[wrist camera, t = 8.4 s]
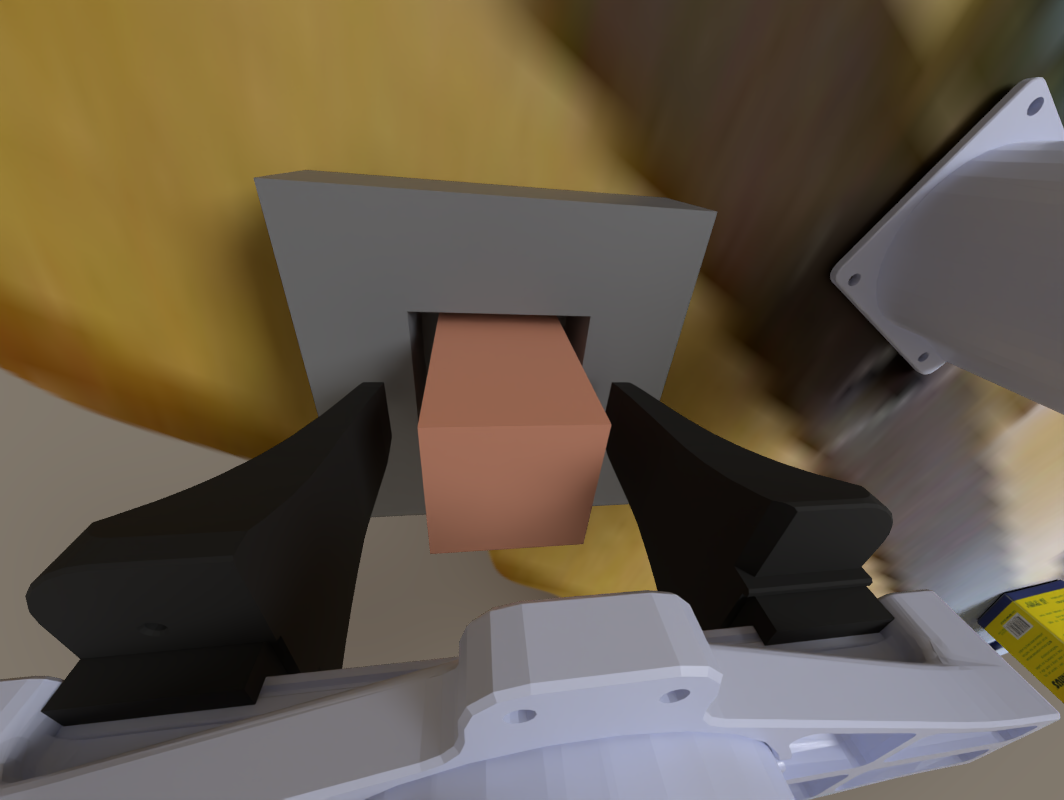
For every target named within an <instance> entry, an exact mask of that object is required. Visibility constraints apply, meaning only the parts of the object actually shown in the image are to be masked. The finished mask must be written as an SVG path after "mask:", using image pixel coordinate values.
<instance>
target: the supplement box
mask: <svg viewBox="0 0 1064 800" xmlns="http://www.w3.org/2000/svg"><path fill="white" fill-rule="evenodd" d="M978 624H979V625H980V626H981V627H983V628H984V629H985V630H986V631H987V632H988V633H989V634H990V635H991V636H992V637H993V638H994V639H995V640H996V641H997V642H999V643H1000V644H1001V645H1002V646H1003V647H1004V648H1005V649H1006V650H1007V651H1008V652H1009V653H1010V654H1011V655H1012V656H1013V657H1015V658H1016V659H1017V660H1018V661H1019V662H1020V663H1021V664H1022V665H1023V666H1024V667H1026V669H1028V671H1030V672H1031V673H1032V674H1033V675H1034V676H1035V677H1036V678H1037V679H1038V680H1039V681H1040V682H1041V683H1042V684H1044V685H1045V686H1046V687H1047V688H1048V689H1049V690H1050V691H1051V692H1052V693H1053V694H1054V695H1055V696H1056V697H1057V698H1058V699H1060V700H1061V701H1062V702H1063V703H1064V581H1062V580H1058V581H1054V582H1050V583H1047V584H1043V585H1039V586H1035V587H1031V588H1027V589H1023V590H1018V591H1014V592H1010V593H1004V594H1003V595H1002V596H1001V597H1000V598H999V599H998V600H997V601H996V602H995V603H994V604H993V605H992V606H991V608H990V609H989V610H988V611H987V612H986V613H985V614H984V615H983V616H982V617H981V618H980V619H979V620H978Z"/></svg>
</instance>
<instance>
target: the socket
mask: <svg viewBox="0 0 1064 800" xmlns="http://www.w3.org/2000/svg"><path fill="white" fill-rule="evenodd" d="M254 181H255V185H256V188H257V192H258V196H259V199H260V203H261V207H262V210H263V214H264V218H265V221H266V225H267V229H268V233H269V236H270V240H271V244H272V247H273V251H274V255H275V258H276V262H277V266H278V269H279V273H280V277H281V280H282V284H283V288H284V291H285V295H286V299H287V302H288V306H289V310H290V313H291V317H292V321H293V324H294V328H295V332H296V335H297V339H298V343H299V346H300V350H301V354H302V358H303V361H304V365H305V369H306V372H307V376H308V380H309V383H310V387H311V391H312V394H313V398H314V402H315V405H316V409H317V413H318V416H321V415H322V414H323V413H325V412H326V411H327V410H328V409H330V408H331V407H332V406H333V405H335V404H336V403H337V402H339V401H340V400H341V399H342V398H343V397H345V396H346V395H347V394H348V393H350V392H351V391H352V390H353V389H355V388H356V387H357V386H358V385H360V384H361V383H363V382H384V385H385V392H386V398H387V405H388V412H389V418H390V425H391V432H392V440H391V446H390V453H389V458H388V464H387V467H386V470H385V473H384V477H383V480H382V483H381V486H380V489H379V492H378V496H377V499H376V502H375V505H374V508H373V511H372V514H371V517H385V516H403V515H424V514H426V506H425V496H424V487H423V477H422V467H421V457H420V447H419V438H418V422H419V417H420V412H421V406H422V401H423V396H424V391H425V385H426V380H427V375H428V369H429V364H430V359H431V353H432V348H433V343H434V338H435V332H436V327H437V322H438V316H439V312H445V313H483V314H520V315H556V316H557V318H558V320H559V322H560V324H561V326H562V328H563V329H564V331H565V333H566V335H567V337H568V339H569V341H570V343H571V345H572V347H573V349H574V351H575V353H576V355H577V357H578V359H579V361H580V363H581V365H582V367H583V369H584V371H585V373H586V375H587V377H588V379H589V381H590V383H591V385H592V387H593V389H594V391H595V393H596V395H597V397H598V399H599V401H600V403H601V405H602V407H603V409H604V411H606V406H607V402H608V397H609V393H610V388H611V384H612V382H630V383H632V384H634V385H635V386H637V387H639V388H640V389H642V390H644V391H645V392H647V393H648V394H650V395H651V396H653V397H654V398H656V399H657V400H659V401H660V398H661V395H662V391H663V388H664V385H665V382H666V378H667V375H668V372H669V369H670V365H671V362H672V359H673V355H674V352H675V349H676V346H677V342H678V339H679V336H680V333H681V329H682V326H683V323H684V319H685V316H686V313H687V310H688V306H689V303H690V300H691V297H692V293H693V290H694V287H695V283H696V280H697V277H698V274H699V270H700V267H701V264H702V261H703V257H704V254H705V251H706V247H707V244H708V241H709V238H710V234H711V231H712V228H713V225H714V221H715V218H716V215H717V211H713V210H709V209H705V208H702V207H698V206H694V205H690V204H687V203H683V202H679V201H676V200H672V199H668V198H660V197H648V196H635V195H622V194H609V193H596V192H583V191H570V190H557V189H544V188H532V187H519V186H506V185H493V184H480V183H467V182H454V181H441V180H428V179H415V178H403V177H390V176H377V175H364V174H351V173H338V172H325V171H312V170H302V171H296V172H289V173H282V174H275V175H269V176H262V177H255V178H254ZM628 503H629V502H628V500H627V498H626V496H625V494H624V491H623V489H622V487H621V485H620V483H619V480H618V478H617V476H616V474H615V472H614V469H613V467H612V465H611V463H610V460H609V458H608V455H607V452H606V450H605V454H604V458H603V462H602V467H601V471H600V475H599V479H598V484H597V488H596V492H595V496H594V501H593V505H592V506H601V505H621V504H628Z"/></svg>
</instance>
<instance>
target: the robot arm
mask: <svg viewBox="0 0 1064 800" xmlns="http://www.w3.org/2000/svg"><path fill="white" fill-rule="evenodd" d="M851 276H853V277H852V279H851V280H850V281H849V279H850V278H851ZM830 279H831V281H832V282H833V283H834V284H835V286H836V287H837V288H838V289H839V290H840V291H841V292H842V293H843V294H844V295H845V296H846V297H847V298H848V299H849V300H850V301H851V302H852V304H853V305H854V306H855V307H856V308H857V309H858V310H859V311H860V312H861V313H862V314H863V315H864V316H865V317H866V318H867V319H868V321H869V322H870V323H871V324H872V325H873V326H874V327H875V328H876V329H877V330H878V331H879V332H880V333H881V334H882V335H883V336H884V338H885V339H886V340H887V341H888V342H889V343H890V344H891V345H892V346H893V347H894V348H895V349H896V350H897V351H898V352H899V353H900V354H901V356H902V357H903V358H904V359H905V360H906V361H907V362H908V363H909V364H910V365H911V366H912V367H913V368H914V369H915V370H916V371H917V372H919V373H921V374H923V375H925V374H930V373H932V372H934V371H935V370H937V369H938V368H939V367H940V366H942V365H943V364H944V363H946V362H949V363H951V364H953V365H955V366H957V367H960V368H962V369H964V370H966V371H968V372H971V373H973V374H975V375H977V376H979V377H982V378H984V379H986V380H988V381H991V382H993V383H995V384H997V385H999V386H1002V387H1004V388H1006V389H1008V390H1010V391H1013V392H1015V393H1017V394H1019V395H1021V396H1024V397H1026V398H1028V399H1030V400H1032V401H1035V402H1037V403H1039V404H1041V405H1043V406H1046V407H1048V408H1050V409H1052V410H1054V411H1057V412H1059V413H1061V414H1063V415H1064V128H1063V126H1062V123H1061V120H1060V118H1059V115H1058V113H1057V110H1056V107H1055V105H1054V102H1053V99H1052V97H1051V94H1050V91H1049V89H1048V86H1047V83H1046V81H1045V80H1044V79H1043V77H1036V78H1027V79H1025V80H1022V81H1020V82H1019V83H1018V84H1017V85H1016V86H1014V87H1013V88H1012V89H1011V90H1010V91H1009V92H1008V93H1007V94H1006V95H1005V96H1004V97H1003V98H1002V99H1001V100H1000V101H999V102H998V103H997V104H996V105H995V106H994V107H993V108H992V109H991V110H990V111H989V112H988V113H987V114H986V115H985V116H984V117H983V118H982V119H981V120H980V121H979V122H978V123H977V124H976V125H975V126H974V127H973V128H972V129H971V130H970V131H969V132H968V133H967V134H966V135H965V136H964V137H963V138H962V139H961V140H960V141H959V142H958V143H957V144H956V145H955V146H954V147H953V148H952V149H951V150H950V151H949V152H948V153H947V154H946V155H945V156H944V157H943V158H942V159H941V160H940V161H939V162H938V163H937V164H936V165H935V166H934V167H933V168H932V169H931V170H930V171H929V172H928V173H927V174H926V175H925V176H924V177H923V178H922V179H921V180H920V181H919V182H918V183H917V184H916V185H915V186H914V187H913V188H912V189H911V190H910V191H909V192H908V193H907V194H906V195H905V196H904V197H903V198H902V199H901V200H900V201H899V202H898V203H897V204H896V205H895V206H894V207H893V208H892V209H891V210H890V211H889V212H888V213H887V214H886V215H885V216H884V217H883V218H882V219H881V220H880V221H879V222H878V223H877V224H876V225H875V226H874V227H873V228H872V229H871V230H870V231H869V232H868V233H867V234H866V235H865V236H864V237H863V238H862V239H861V240H860V241H859V242H858V243H857V244H856V245H855V246H854V247H853V248H852V249H851V250H850V251H849V252H848V253H847V254H846V255H845V256H844V257H843V258H842V259H841V260H840V261H839V262H838V263H837V264H836V265H835V266H834V267H833V269H832V271H831V273H830ZM848 281H849V282H848ZM605 413H606V415H607V417H608V419H609V421H610V423H611V429H610V433H609V437H608V441H607V446H606V452H607V455H608V458H609V460H610V463H611V465H612V467H613V469H614V472H615V474H616V476H617V478H618V480H619V483H620V485H621V487H622V489H623V491H624V494H625V496H626V498H627V500H628V502H629V505H630V507H631V509H632V511H633V514H634V516H635V519H636V521H637V524H638V527H639V530H640V533H641V536H642V539H643V542H644V546H645V549H646V552H647V555H648V559H649V562H650V565H651V569H652V572H653V576H654V579H655V583H656V587H657V590H658V591H649V590H645V591H633V592H622V593H610V594H599V595H587V596H575V597H564V598H553V599H541V600H530V601H519V602H515V603H511V604H506V605H502V606H498V607H494V608H491V609H490V610H488V611H487V612H485V613H483V614H482V615H480V616H479V617H477V618H475V619H474V620H472V621H471V622H470V623H469V624H468V625H467V626H466V629H465V631H464V633H463V635H462V637H461V639H460V641H459V657H450V658H440V659H431V660H422V661H412V662H403V663H393V664H384V665H374V666H365V667H355V668H346V669H342V665H343V658H344V651H345V644H346V638H347V632H348V626H349V619H350V613H351V607H352V601H353V596H354V590H355V584H356V578H357V573H358V568H359V563H360V558H361V553H362V548H363V543H364V538H365V535H366V531H367V527H368V523H369V520H370V517H371V514H372V511H373V508H374V505H375V502H376V499H377V496H378V492H379V489H380V486H381V483H382V480H383V477H384V473H385V470H386V467H387V464H388V458H389V453H390V446H391V440H392V432H391V425H390V418H389V412H388V405H387V398H386V392H385V385H384V382H363V383H361V384H360V385H358V386H357V387H356V388H355V389H353V390H352V391H351V392H350V393H348V394H347V395H346V396H345V397H343V398H342V399H341V400H340V401H339V402H337V403H336V404H335V405H333V406H332V407H331V408H330V409H328V410H327V411H326V412H325V413H323V414H322V415H321V416H319V417H318V418H317V419H315V420H314V421H312V422H311V423H309V424H308V425H307V426H305V427H304V428H302V429H301V430H300V431H298V432H297V433H295V434H294V435H292V436H291V437H289V438H288V439H286V440H285V441H283V442H281V443H280V444H278V445H276V446H275V447H273V448H271V449H269V450H268V451H266V452H264V453H262V454H261V455H259V456H257V457H255V458H253V459H251V460H249V461H247V462H245V463H243V464H241V465H239V466H237V467H235V468H233V469H231V470H229V471H227V472H225V473H223V474H221V475H219V476H216V477H214V478H212V479H210V480H207V481H205V482H203V483H201V484H198V485H196V486H193V487H191V488H188V489H186V490H183V491H181V492H179V493H176V494H173V495H171V496H168V497H166V498H163V499H160V500H158V501H155V502H152V503H149V504H147V505H143V506H140V507H138V508H134V509H132V510H129V511H126V512H123V513H120V514H117V515H114V516H111V517H108V518H105V519H102V520H99V521H96V522H93V523H92V524H91V525H90V526H89V527H88V528H87V529H86V530H85V531H84V532H83V533H82V534H81V535H80V536H79V537H78V538H77V539H76V540H75V541H74V542H73V543H72V544H71V545H70V546H69V547H68V548H67V549H66V550H65V551H64V552H63V553H62V554H61V555H60V556H59V557H58V558H57V559H56V560H55V561H54V562H52V563H51V564H50V565H49V566H48V567H47V568H46V569H45V571H43V572H42V574H40V576H39V577H37V578H36V579H35V580H34V581H33V582H32V583H31V585H30V587H29V589H28V591H27V594H26V600H27V605H28V609H29V612H30V613H31V615H32V616H33V617H34V618H35V619H36V620H37V621H38V623H39V624H40V625H41V626H42V627H44V628H45V629H46V630H47V631H48V632H49V633H51V634H52V635H53V636H54V637H55V638H57V639H58V640H59V641H60V642H61V643H62V644H64V645H65V646H66V647H67V648H68V649H69V650H70V651H72V652H73V653H74V654H75V655H76V656H78V657H79V658H80V660H79V662H78V663H77V664H76V666H75V667H74V668H73V670H72V671H71V672H70V673H69V675H68V676H67V677H66V679H65V680H62V679H60V678H55V677H50V676H31V677H20V678H10V679H0V800H810V799H814V798H818V797H822V796H826V795H829V794H834V793H838V792H842V791H846V790H850V789H854V788H858V787H862V786H866V785H870V784H874V783H878V782H882V781H886V780H890V779H895V778H899V777H903V776H908V775H913V774H917V773H921V772H926V771H931V770H936V769H941V768H946V767H951V766H956V765H961V764H966V763H970V762H972V761H974V760H976V759H978V758H980V757H983V756H985V755H987V754H989V753H991V752H993V751H995V750H997V749H999V748H1001V747H1003V746H1005V745H1008V744H1010V743H1012V742H1014V741H1016V740H1018V739H1020V738H1022V737H1024V736H1026V735H1029V734H1031V733H1033V732H1035V731H1037V730H1039V729H1041V728H1043V727H1045V726H1047V725H1049V724H1052V723H1054V722H1056V721H1058V720H1060V713H1059V712H1058V711H1057V710H1056V709H1055V708H1054V707H1053V706H1052V705H1051V704H1050V703H1049V702H1048V701H1047V700H1046V699H1045V698H1043V697H1042V696H1041V695H1040V694H1039V693H1038V692H1037V691H1036V690H1035V689H1034V688H1033V687H1032V686H1031V685H1030V684H1029V683H1028V682H1027V681H1026V680H1025V679H1024V678H1023V677H1022V676H1020V674H1019V673H1018V672H1017V671H1015V670H1014V669H1013V668H1012V667H1011V666H1010V665H1009V664H1008V663H1007V662H1006V661H1005V660H1004V659H1003V658H1002V657H1001V656H1000V655H999V654H998V653H997V652H996V651H995V650H994V649H993V648H992V647H991V646H990V645H989V644H988V643H986V642H985V641H984V640H983V639H982V638H981V637H980V636H979V635H978V634H977V633H976V632H975V631H974V630H973V629H972V628H971V627H970V626H969V625H968V624H967V623H966V622H965V621H964V620H963V619H962V618H961V617H960V616H958V615H957V614H956V613H955V612H954V611H953V610H952V609H951V608H950V607H949V606H948V605H947V604H946V603H945V602H944V601H943V600H942V599H941V598H940V597H939V596H938V595H937V594H936V593H935V592H934V591H932V590H927V589H926V590H916V591H906V592H895V593H890V594H886V595H884V596H882V597H880V598H878V599H877V598H876V597H875V595H874V594H873V593H872V592H871V591H870V590H869V589H868V588H867V587H866V586H870V585H871V583H872V578H871V577H870V576H869V575H868V574H867V573H866V571H865V570H864V569H863V568H862V565H863V564H864V563H865V562H866V561H867V560H868V559H869V558H870V556H871V555H872V554H873V553H874V552H875V551H876V550H877V549H878V548H879V546H880V545H881V544H882V543H883V542H884V540H885V539H886V538H887V536H888V535H889V533H890V530H891V528H892V524H893V519H892V513H891V512H890V511H889V510H888V508H887V507H886V506H884V505H883V504H882V503H881V502H880V501H879V500H878V499H876V498H875V497H874V496H873V495H872V494H871V493H870V492H868V491H867V490H866V489H865V488H863V487H862V486H859V485H855V484H851V483H848V482H844V481H840V480H836V479H832V478H829V477H825V476H821V475H817V474H814V473H811V472H807V471H804V470H801V469H798V468H795V467H792V466H789V465H786V464H783V463H780V462H778V461H775V460H772V459H769V458H767V457H764V456H762V455H759V454H757V453H754V452H752V451H749V450H747V449H745V448H742V447H740V446H738V445H736V444H733V443H731V442H729V441H727V440H725V439H723V438H721V437H719V436H717V435H715V434H713V433H711V432H709V431H707V430H706V429H704V428H702V427H700V426H699V425H697V424H695V423H694V422H692V421H690V420H688V419H687V418H685V417H683V416H682V415H680V414H679V413H677V412H676V411H674V410H672V409H671V408H669V407H668V406H666V405H665V404H663V403H662V402H660V401H659V400H657V399H656V398H654V397H653V396H651V395H650V394H648V393H647V392H645V391H644V390H642V389H640V388H639V387H637V386H635V385H634V384H632V383H630V382H612V384H611V388H610V393H609V397H608V402H607V406H606V411H605Z"/></svg>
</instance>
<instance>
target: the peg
mask: <svg viewBox="0 0 1064 800" xmlns="http://www.w3.org/2000/svg"><path fill="white" fill-rule="evenodd" d="M610 429H611V423H610V421H609V419H608V417H607V415H606V413H605V411H604V409H603V407H602V405H601V403H600V401H599V399H598V397H597V395H596V393H595V391H594V389H593V387H592V385H591V383H590V381H589V379H588V377H587V375H586V373H585V371H584V369H583V367H582V365H581V363H580V361H579V359H578V357H577V355H576V353H575V351H574V349H573V347H572V345H571V343H570V341H569V339H568V337H567V335H566V333H565V331H564V329H563V328H562V326H561V324H560V322H559V320H558V318H557V316H556V315H520V314H483V313H445V312H439V316H438V322H437V327H436V332H435V338H434V343H433V348H432V353H431V359H430V364H429V369H428V375H427V380H426V385H425V391H424V396H423V401H422V406H421V412H420V417H419V422H418V438H419V447H420V457H421V467H422V477H423V487H424V496H425V506H426V516H427V526H428V535H429V545H430V554H436V553H450V552H451V553H452V552H468V551H483V550H499V549H514V548H529V547H545V546H560V545H575V544H583V543H584V539H585V534H586V530H587V526H588V522H589V518H590V513H591V509H592V505H593V501H594V496H595V492H596V488H597V484H598V479H599V475H600V471H601V467H602V462H603V458H604V454H605V450H606V446H607V441H608V437H609V433H610Z"/></svg>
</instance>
